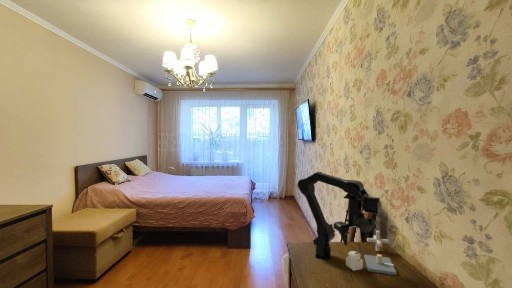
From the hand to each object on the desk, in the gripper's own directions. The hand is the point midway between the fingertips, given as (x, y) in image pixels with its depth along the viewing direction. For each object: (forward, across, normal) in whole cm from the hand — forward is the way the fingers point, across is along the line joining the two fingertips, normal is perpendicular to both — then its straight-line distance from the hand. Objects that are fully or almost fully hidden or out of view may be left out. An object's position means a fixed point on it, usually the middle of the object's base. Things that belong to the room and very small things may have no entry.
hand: (354, 243), depth 111 cm
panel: (+10, +12, -3) cm, 16 cm away
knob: (+10, 0, 0) cm, 11 cm away
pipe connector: (+11, +22, +9) cm, 27 cm away
